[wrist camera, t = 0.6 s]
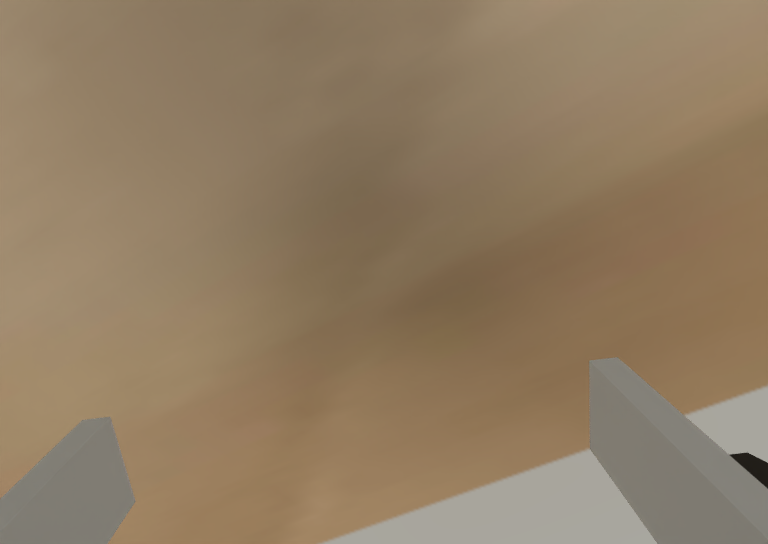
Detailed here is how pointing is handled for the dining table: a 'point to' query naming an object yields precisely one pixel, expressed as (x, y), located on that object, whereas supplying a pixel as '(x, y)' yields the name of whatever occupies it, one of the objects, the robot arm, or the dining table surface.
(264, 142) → the dining table surface
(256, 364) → the dining table surface
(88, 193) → the dining table surface
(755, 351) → the dining table surface
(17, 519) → the robot arm
